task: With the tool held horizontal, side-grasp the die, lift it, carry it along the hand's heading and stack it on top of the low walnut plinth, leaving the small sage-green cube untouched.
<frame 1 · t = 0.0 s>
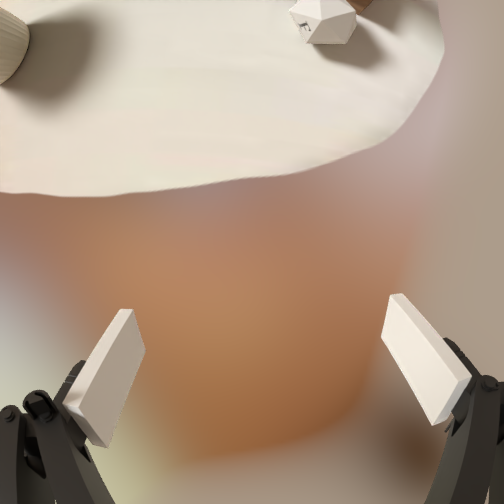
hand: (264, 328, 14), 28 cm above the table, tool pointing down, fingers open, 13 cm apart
die: (317, 28, 30), on the table
canister: (11, 54, 27), on the table
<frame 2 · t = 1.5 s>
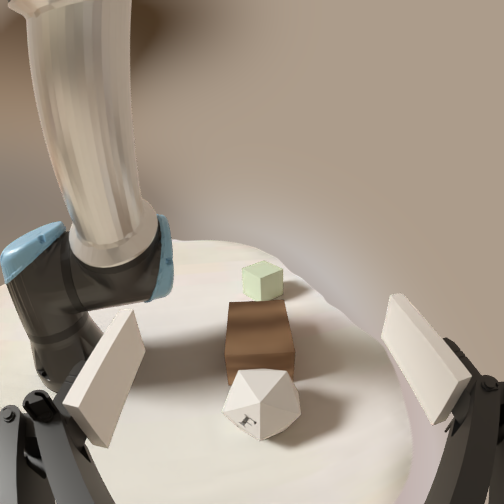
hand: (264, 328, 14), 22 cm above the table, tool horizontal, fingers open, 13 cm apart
die: (263, 421, 31), on the table
plinth: (259, 354, 43), on the table
green cube: (263, 294, 61), on the table
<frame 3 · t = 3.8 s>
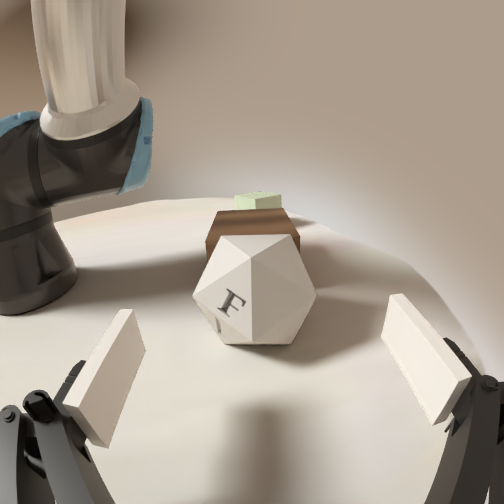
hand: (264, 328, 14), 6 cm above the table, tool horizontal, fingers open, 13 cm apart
die: (258, 334, 23), on the table
plinth: (253, 268, 35), on the table
green cube: (259, 226, 53), on the table
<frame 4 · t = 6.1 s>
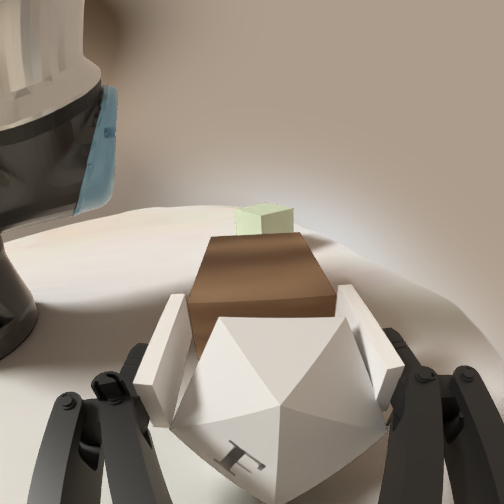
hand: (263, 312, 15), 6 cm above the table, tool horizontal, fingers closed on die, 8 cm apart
die: (278, 448, 13), on the table, touching gripper
plinth: (260, 321, 25), on the table
green cube: (265, 247, 43), on the table
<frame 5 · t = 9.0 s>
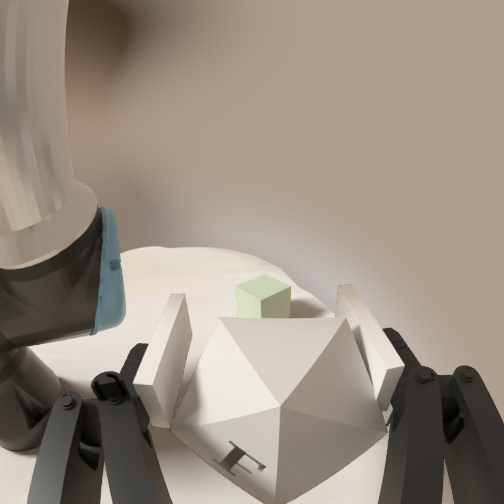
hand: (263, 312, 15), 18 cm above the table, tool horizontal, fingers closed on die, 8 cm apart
die: (278, 448, 13), point 11 cm above the table, touching gripper
green cube: (264, 318, 45), on the table
when the fingers open (13 cm above the table, at t = 11.5 s): die stays where it is, resting on plinth.
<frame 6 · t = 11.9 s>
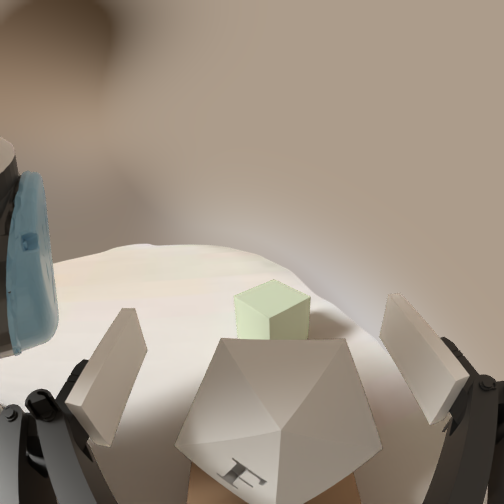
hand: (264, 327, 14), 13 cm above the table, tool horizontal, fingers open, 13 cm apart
die: (277, 458, 13), point 6 cm above the table, touching plinth
plinth: (269, 488, 15), on the table
green cube: (272, 339, 33), on the table
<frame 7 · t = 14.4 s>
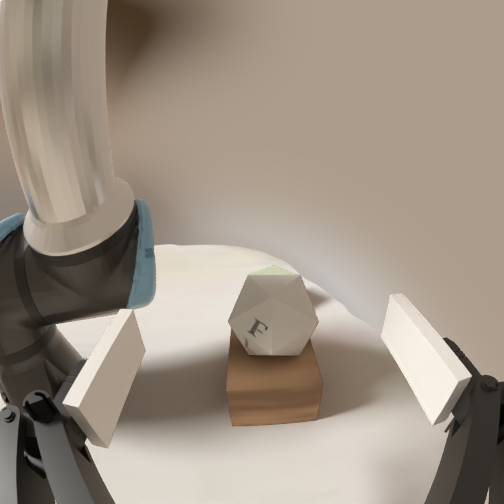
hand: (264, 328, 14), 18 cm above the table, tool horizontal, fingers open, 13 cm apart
die: (274, 348, 30), point 6 cm above the table, touching plinth
plinth: (271, 383, 32), on the table
green cube: (273, 305, 50), on the table
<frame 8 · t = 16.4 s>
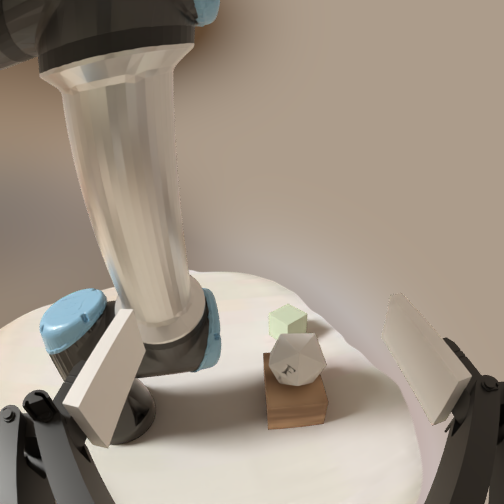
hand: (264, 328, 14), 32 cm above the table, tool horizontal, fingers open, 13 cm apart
die: (295, 377, 43), point 6 cm above the table, touching plinth
plinth: (291, 398, 45), on the table
green cube: (287, 335, 63), on the table
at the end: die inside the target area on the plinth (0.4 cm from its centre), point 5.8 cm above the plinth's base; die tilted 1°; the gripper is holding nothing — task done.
